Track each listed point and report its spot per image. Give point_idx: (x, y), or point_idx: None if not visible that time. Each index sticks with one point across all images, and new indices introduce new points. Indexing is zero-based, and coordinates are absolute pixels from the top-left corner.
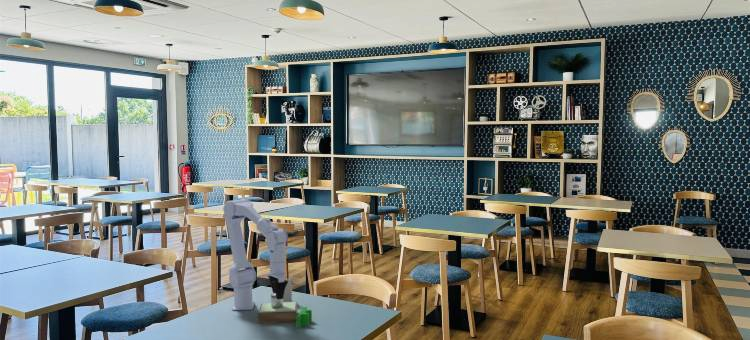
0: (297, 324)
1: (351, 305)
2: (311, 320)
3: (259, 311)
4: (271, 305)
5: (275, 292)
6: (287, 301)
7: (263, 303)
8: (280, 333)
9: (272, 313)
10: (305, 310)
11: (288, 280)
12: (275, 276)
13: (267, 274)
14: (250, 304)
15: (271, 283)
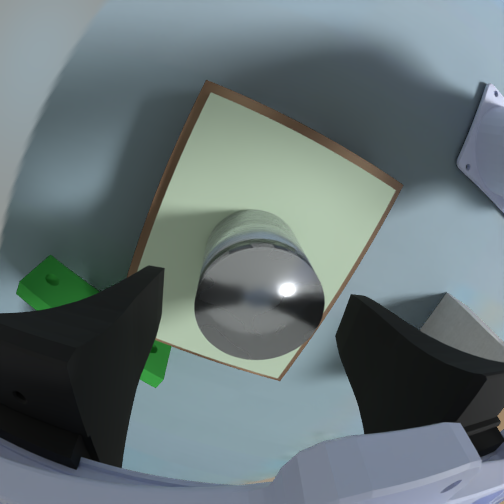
0: (39, 266)
1: (229, 476)
2: None
3: (240, 100)
4: (257, 214)
5: (317, 313)
6: None
7: (386, 195)
8: (20, 163)
9: (162, 180)
10: None
11: None
12: (13, 483)
13: (352, 476)
14: (487, 172)
15: (409, 344)
